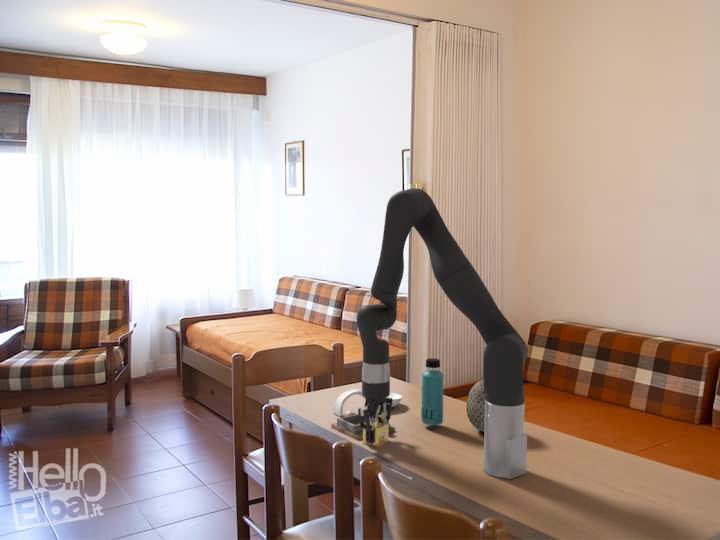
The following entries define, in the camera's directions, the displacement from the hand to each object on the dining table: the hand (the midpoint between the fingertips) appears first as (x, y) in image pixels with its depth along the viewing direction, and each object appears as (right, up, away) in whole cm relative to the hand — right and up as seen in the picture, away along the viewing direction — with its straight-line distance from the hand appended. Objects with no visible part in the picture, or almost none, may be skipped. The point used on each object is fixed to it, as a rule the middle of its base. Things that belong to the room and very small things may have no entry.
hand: (375, 439), depth 178 cm
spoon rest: (-1, +2, +30) cm, 30 cm away
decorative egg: (+32, 0, +9) cm, 33 cm away
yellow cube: (0, -1, 0) cm, 1 cm away
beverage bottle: (+17, 0, +13) cm, 21 cm away
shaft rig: (-3, 0, +11) cm, 11 cm away
